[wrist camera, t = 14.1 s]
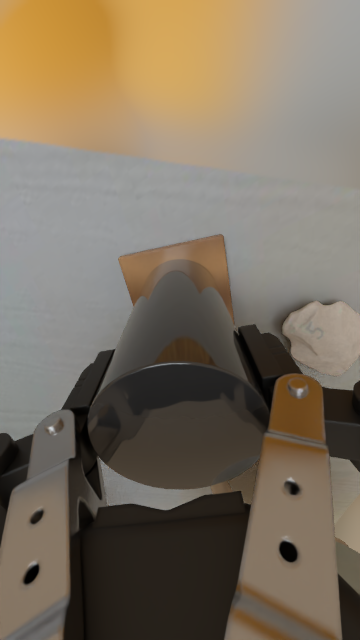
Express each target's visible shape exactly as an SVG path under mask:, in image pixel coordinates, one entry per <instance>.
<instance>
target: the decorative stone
mask: <svg viewBox="0 0 360 640" xmlns="http://www.w3.org/2000/svg"><path fill="white" fill-rule="evenodd" d="M282 334H283V335H285V336H286V337H288V338H289V339H290V342H291V345H292V346H291V349H290V350H291V355H292V356H293V357H294V358H295V359H296V360H298V361H300V362H301V363H302V364H305V365H307V366H310V367H311V368H314V369H316V370H317V371H318V372H320V373H323V374H331V375H333V376H340V375H341V374H343V373H345V372H346V371H347V369H348V368H349V367H350V366H351V365H352V364H353V363H354V362H355V361H356V360H357V358H358V357H359V355H360V314H358V313H357V312H355V311H354V310H353V309H352V308H351V307H350V306H349V305H348V304H346V303H344V302H342V301H338V302H336V303H334V304H331V305H322V304H321V303H320V302H319V301H314V302H311V303H309V304H307V305H305V306H304V307H303V308H301V309H299V310H298V311H295V312H291V313H290V314H289V316H288V317H287V318H286V320H285V321H284V323H283V326H282Z"/></svg>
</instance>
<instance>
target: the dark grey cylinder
mask: <svg viewBox="0 0 360 640" xmlns="http://www.w3.org/2000/svg"><path fill="white" fill-rule="evenodd" d="M269 419H270V409H269V406H268V404H267V401H266V399H265V397H264V394H263V392H262V389H261V387H260V385H259V382H258V380H257V378H256V375H255V373H254V370H253V368H252V366H251V363H250V361H249V359H248V356H247V354H246V352H245V349H244V347H243V344H242V342H241V340H240V337H239V335H238V333H237V330H236V328H235V326H234V323H233V321H232V318H231V316H230V314H229V311H228V309H227V307H226V304H225V302H224V300H223V297H222V295H221V292H220V290H219V288H218V285H217V283H216V281H215V279H214V277H213V276H212V274H211V273H210V272H209V271H208V270H207V269H206V268H205V267H204V266H202V265H200V264H199V263H196V262H194V261H191V260H185V259H175V260H170V261H167V262H164V263H162V264H160V265H159V266H157V267H156V268H155V269H153V270H152V271H151V272H150V274H149V275H148V276H147V278H146V280H145V282H144V284H143V287H142V289H141V291H140V294H139V296H138V298H137V300H136V303H135V305H134V307H133V310H132V312H131V314H130V317H129V319H128V321H127V323H126V326H125V328H124V330H123V333H122V335H121V337H120V340H119V342H118V344H117V346H116V349H115V351H114V353H113V356H112V358H111V360H110V363H109V365H108V367H107V370H106V372H105V374H104V376H103V379H102V381H101V383H100V386H99V388H98V390H97V393H96V395H95V397H94V399H93V402H92V404H91V406H90V409H89V413H88V417H87V432H88V437H89V440H90V443H91V445H92V447H93V449H94V451H95V452H96V454H97V455H98V456H99V458H100V459H101V460H102V461H103V462H104V463H105V464H106V465H108V466H109V467H110V468H111V469H113V470H114V471H115V472H117V473H118V474H120V475H122V476H124V477H126V478H128V479H130V480H133V481H135V482H138V483H141V484H144V485H148V486H152V487H158V488H164V489H196V488H202V487H208V486H212V485H216V484H219V483H222V482H225V481H227V480H230V479H232V478H234V477H236V476H238V475H240V474H241V473H243V472H245V471H246V470H247V469H249V468H250V467H251V466H252V465H254V464H255V463H256V462H257V461H258V460H259V457H260V451H261V445H262V440H263V435H264V432H265V431H267V430H268V425H269Z"/></svg>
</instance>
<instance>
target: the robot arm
mask: <svg viewBox="0 0 360 640" xmlns="http://www.w3.org/2000/svg"><path fill="white" fill-rule="evenodd" d="M238 332H239V337H240V340H241V342H242V344H243V347H244V349H245V352H246V354H247V356H248V359H249V361H250V363H251V366H252V368H253V370H254V373H255V375H256V378H257V380H258V382H259V385H260V387H261V389H262V392H263V394H264V397H265V399H266V401H267V404H268V406H269V409H270V419H269V425H268V430H267V431H265V432H264V435H263V440H262V445H261V451H260V457H259V463H258V469H257V474H256V480H255V486H254V492H253V497H252V503H251V505H250V504H245V503H243V498H242V493H241V491H237V492H228V493H219V494H211V495H204V496H201V497H199V498H197V499H194V500H192V501H189V502H187V503H185V504H182V505H180V506H178V507H175V508H173V509H170V510H160V509H155V508H150V507H146V506H141V505H136V504H123V505H115V506H107V501H106V494H105V488H104V481H103V474H102V468H101V462H100V459H99V457H98V455H97V454H96V452H95V451H94V449H93V447H92V445H91V443H90V440H89V437H88V432H87V417H88V413H89V409H90V406H91V404H92V402H93V399H94V397H95V395H96V393H97V390H98V388H99V386H100V383H101V381H102V379H103V376H104V374H105V372H106V370H107V367H108V365H109V363H110V360H111V358H112V356H113V353H114V351H115V349H113V350H107V351H102V352H99V354H98V356H97V358H96V360H95V361H94V363H92V364H90V365H89V366H88V367H87V368H86V369H85V370H84V371H83V372H82V374H81V376H80V377H79V379H78V380H79V381H77V383H76V384H75V388H73V390H72V391H71V393H70V395H69V397H68V399H67V400H66V402H65V404H64V406H63V407H62V409H61V410H59V411H56V412H54V413H52V414H50V415H49V416H47V417H46V418H45V419H43V420H42V421H41V422H40V423H39V425H38V426H37V427H36V429H35V431H34V434H32V435H29V436H27V437H24V438H22V439H19V440H17V441H14V440H13V439H12V438H11V437H10V435H9V434H7V433H1V434H0V640H360V595H359V594H358V593H357V592H356V591H355V590H354V589H353V588H352V587H351V586H350V585H349V584H348V583H347V582H346V581H345V580H344V579H343V578H342V577H341V576H340V575H339V574H338V573H337V558H336V544H335V529H334V515H333V501H332V486H331V472H330V457H329V456H331V457H337V458H343V459H348V460H350V461H351V462H352V463H353V465H354V466H355V467H356V468H357V470H358V471H359V472H360V381H358V382H357V383H356V384H355V385H354V389H353V391H352V390H340V389H330V388H325V387H322V386H321V385H320V384H319V382H317V381H316V380H315V379H314V378H312V377H310V376H307V375H304V374H303V373H302V372H301V370H300V369H299V368H298V366H297V365H296V363H295V362H294V360H293V359H292V357H291V356H290V355H289V353H288V352H287V350H286V349H285V347H284V346H283V344H282V343H281V342H280V340H279V339H278V338H277V337H276V336H274V335H272V334H270V333H264V334H261V333H260V332H259V330H258V328H257V327H256V325H255V324H252V325H247V326H241V327H238Z"/></svg>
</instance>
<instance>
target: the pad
mask: <svg viewBox="0 0 360 640" xmlns="http://www.w3.org/2000/svg"><path fill="white" fill-rule="evenodd" d="M175 259H185V260H191V261H194V262H196V263H199V264H200V265H202V266H204V267H205V268H206V269H207V270H208V271H209V272H210V273H211V274H212V276H213V277H214V279H215V281H216V283H217V285H218V288H219V290H220V292H221V295H222V297H223V300H224V302H225V304H226V307H227V309H228V311H229V314H230V316H231V318H232V321H233V323H234V317H233V309H232V301H231V293H230V285H229V277H228V269H227V261H226V253H225V245H224V237H223V235H222V234H219V235H215V236H210V237H205V238H201V239H196V240H192V241H187V242H183V243H178V244H174V245H169V246H165V247H160V248H155V249H151V250H146V251H142V252H137V253H133V254H128V255H124V256H120V257H119V258H118V260H119V263H120V266H121V269H122V272H123V275H124V278H125V281H126V285H127V288H128V291H129V294H130V297H131V300H132V303H133V306H134V305H135V303H136V300H137V298H138V296H139V294H140V291H141V289H142V287H143V284H144V282H145V280H146V278H147V276H148V275H149V274H150V272H151V271H152V270H153V269H155V268H156V267H157V266H159V265H160V264H162V263H164V262H167V261H170V260H175ZM234 326H235V325H234Z"/></svg>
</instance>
